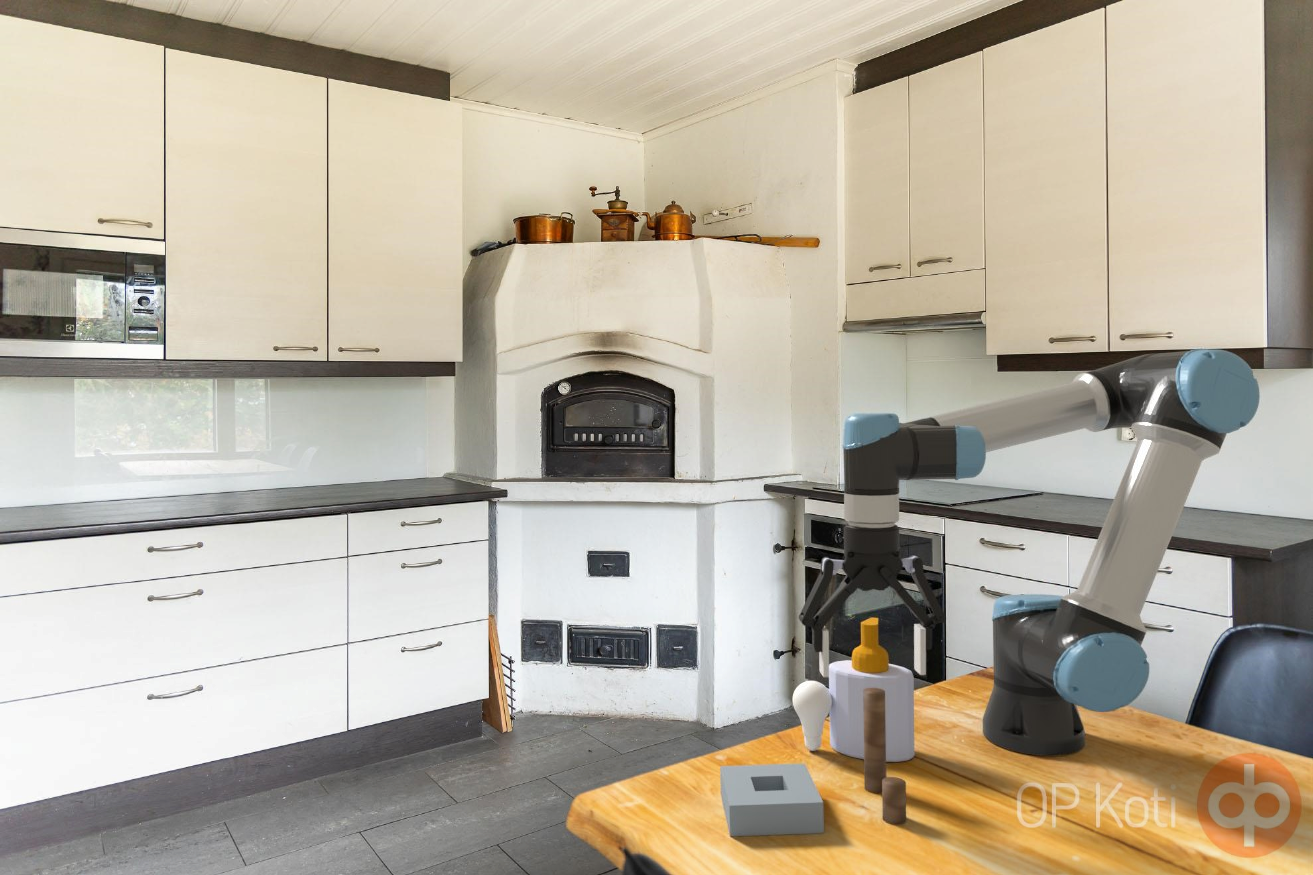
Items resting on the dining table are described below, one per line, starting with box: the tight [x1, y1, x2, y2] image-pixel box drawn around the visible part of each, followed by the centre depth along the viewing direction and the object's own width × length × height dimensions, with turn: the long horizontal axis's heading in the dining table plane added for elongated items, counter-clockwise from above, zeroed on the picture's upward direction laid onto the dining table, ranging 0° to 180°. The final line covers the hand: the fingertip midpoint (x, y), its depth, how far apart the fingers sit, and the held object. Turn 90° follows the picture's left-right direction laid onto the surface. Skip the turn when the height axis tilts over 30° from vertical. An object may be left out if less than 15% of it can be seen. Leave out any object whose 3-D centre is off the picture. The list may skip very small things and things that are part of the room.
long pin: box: [863, 688, 887, 794], centre depth 123 cm, size 3×3×14 cm
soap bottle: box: [828, 617, 915, 763], centre depth 136 cm, size 13×8×20 cm, turn 63°
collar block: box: [719, 762, 825, 837], centre depth 117 cm, size 12×12×4 cm
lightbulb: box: [792, 680, 832, 752], centre depth 137 cm, size 6×6×11 cm
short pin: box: [881, 776, 907, 826], centre depth 114 cm, size 3×3×5 cm
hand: (872, 673), depth 123 cm, fingers open, 13 cm apart
